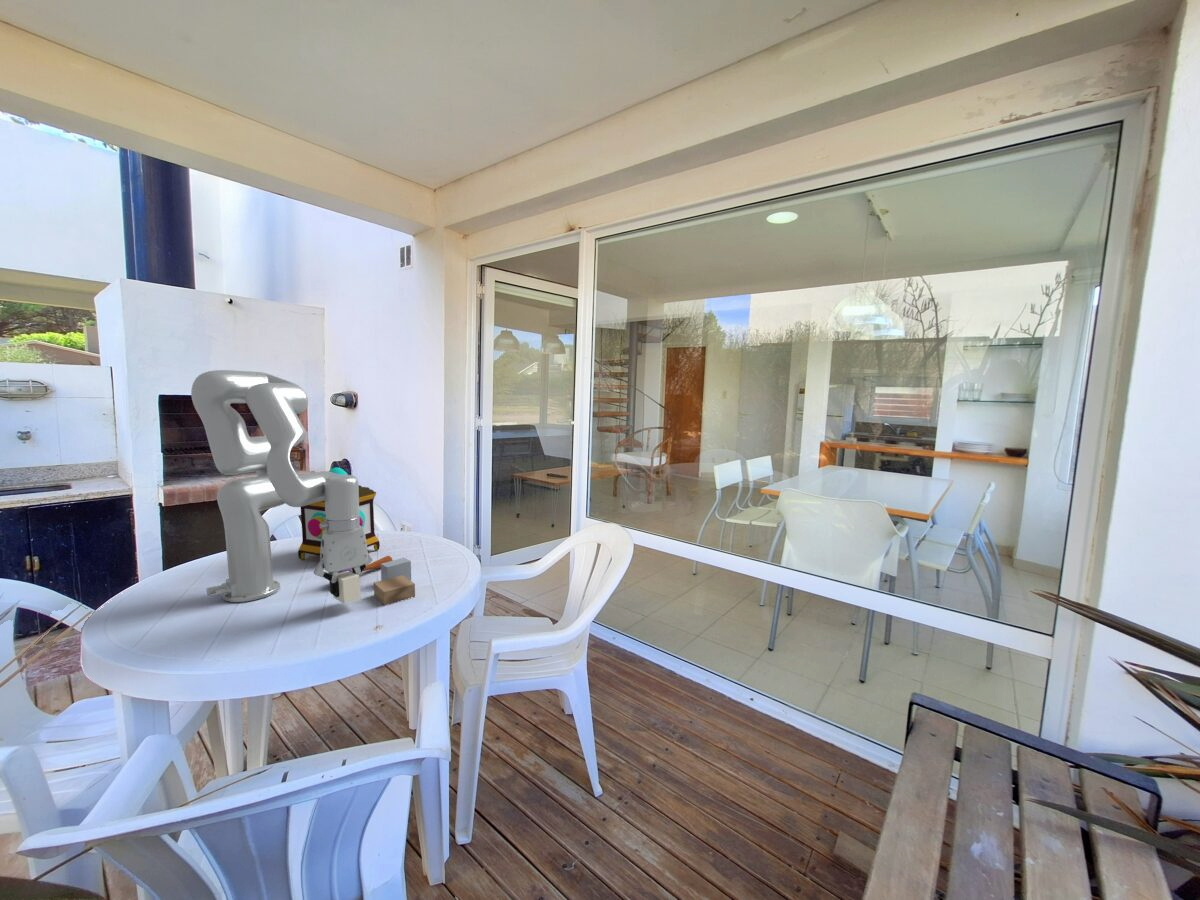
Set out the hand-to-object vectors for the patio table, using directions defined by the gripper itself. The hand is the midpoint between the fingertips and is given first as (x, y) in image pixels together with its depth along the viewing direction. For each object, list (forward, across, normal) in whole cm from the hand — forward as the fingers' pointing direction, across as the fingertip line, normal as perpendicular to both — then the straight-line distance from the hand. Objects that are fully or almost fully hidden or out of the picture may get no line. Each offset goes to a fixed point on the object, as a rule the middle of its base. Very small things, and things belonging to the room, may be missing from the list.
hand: (345, 592), depth 122 cm
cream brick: (+1, 0, -1) cm, 2 cm away
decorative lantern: (+5, +14, +40) cm, 43 cm away
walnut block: (+4, +11, -4) cm, 12 cm away
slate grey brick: (+4, +16, +5) cm, 18 cm away
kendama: (+4, +12, +17) cm, 21 cm away
